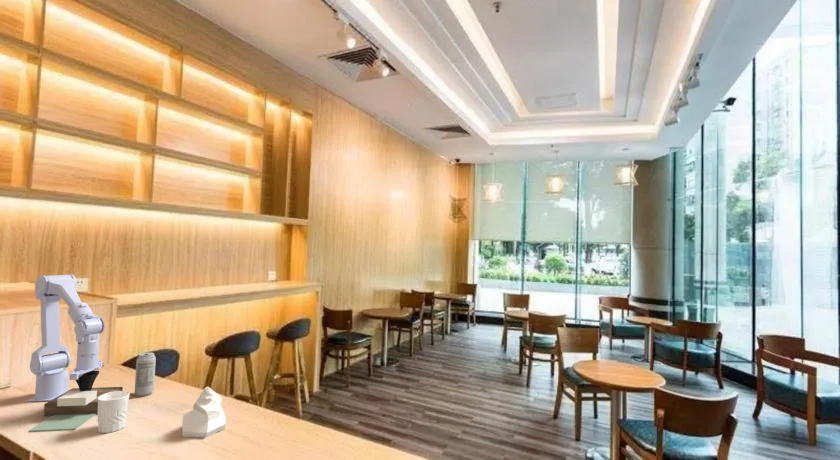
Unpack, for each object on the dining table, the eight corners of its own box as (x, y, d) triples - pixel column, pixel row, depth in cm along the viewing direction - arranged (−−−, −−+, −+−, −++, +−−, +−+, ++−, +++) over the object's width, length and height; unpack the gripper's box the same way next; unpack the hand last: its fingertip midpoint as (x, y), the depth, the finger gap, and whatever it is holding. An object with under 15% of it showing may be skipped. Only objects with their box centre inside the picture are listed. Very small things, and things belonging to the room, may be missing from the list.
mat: (53, 416, 130) (53, 415, 130) (95, 414, 133) (95, 413, 133) (28, 432, 120) (28, 430, 120) (74, 429, 122) (74, 428, 122)
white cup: (92, 436, 119) (94, 402, 119) (99, 425, 126) (101, 392, 126) (125, 431, 122) (127, 398, 123) (129, 420, 129) (131, 389, 130)
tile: (69, 399, 135) (69, 391, 135) (96, 398, 136) (97, 390, 136) (57, 406, 129) (57, 398, 129) (85, 405, 130) (86, 397, 130)
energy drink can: (155, 390, 155) (157, 351, 155) (151, 396, 149) (153, 355, 150) (137, 392, 153) (139, 352, 153) (132, 398, 147) (134, 356, 148)
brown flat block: (71, 399, 144) (72, 388, 144) (122, 397, 147) (122, 386, 147) (43, 416, 130) (44, 404, 130) (99, 414, 133) (100, 402, 133)
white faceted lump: (239, 427, 131) (245, 388, 128) (193, 451, 118) (199, 408, 116) (216, 409, 137) (222, 371, 134) (170, 429, 124) (176, 388, 122)
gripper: (88, 359, 131) (85, 402, 130) (112, 348, 145) (110, 386, 144) (63, 360, 129) (60, 403, 129) (90, 348, 143) (88, 386, 143)
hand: (85, 394), depth 137 cm, fingers closed
